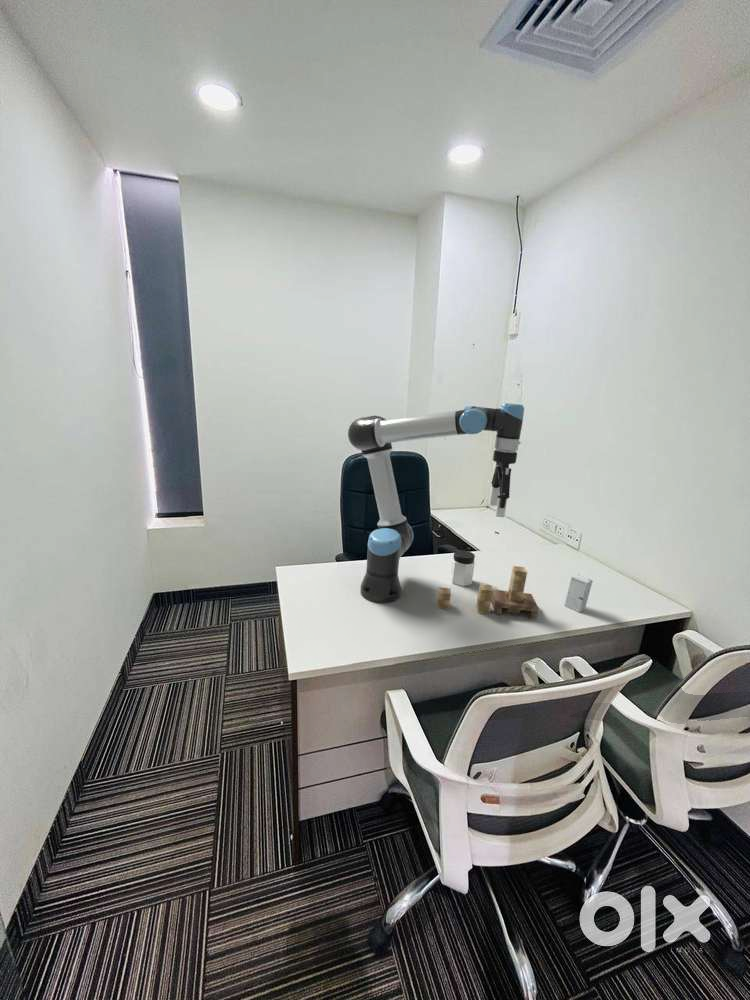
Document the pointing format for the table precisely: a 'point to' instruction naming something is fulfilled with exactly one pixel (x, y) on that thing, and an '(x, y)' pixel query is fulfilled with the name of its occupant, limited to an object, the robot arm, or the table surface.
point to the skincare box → (578, 592)
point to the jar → (462, 568)
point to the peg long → (517, 586)
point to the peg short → (444, 598)
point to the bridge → (514, 603)
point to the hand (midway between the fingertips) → (496, 510)
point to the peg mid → (484, 598)
